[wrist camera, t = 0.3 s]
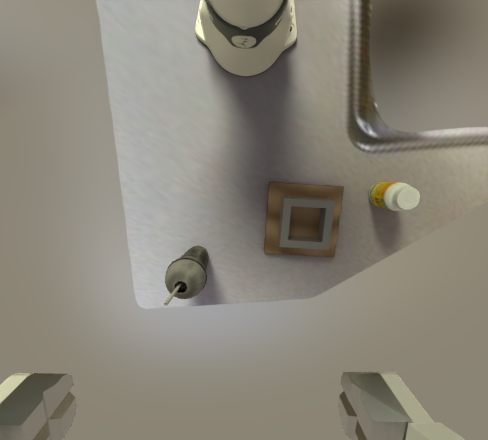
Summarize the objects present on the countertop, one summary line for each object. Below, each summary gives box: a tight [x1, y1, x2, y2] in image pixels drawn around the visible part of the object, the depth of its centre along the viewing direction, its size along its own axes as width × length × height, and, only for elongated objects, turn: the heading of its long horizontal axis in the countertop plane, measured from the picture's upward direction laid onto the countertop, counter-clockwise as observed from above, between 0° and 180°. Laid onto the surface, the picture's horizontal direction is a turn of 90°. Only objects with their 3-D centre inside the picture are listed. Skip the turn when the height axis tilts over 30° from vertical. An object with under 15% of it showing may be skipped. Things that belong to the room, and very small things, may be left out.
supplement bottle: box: [369, 181, 420, 211], centre depth 49 cm, size 5×5×10 cm
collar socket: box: [264, 182, 344, 257], centre depth 53 cm, size 15×15×5 cm
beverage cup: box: [164, 246, 208, 306], centre depth 47 cm, size 7×7×20 cm
